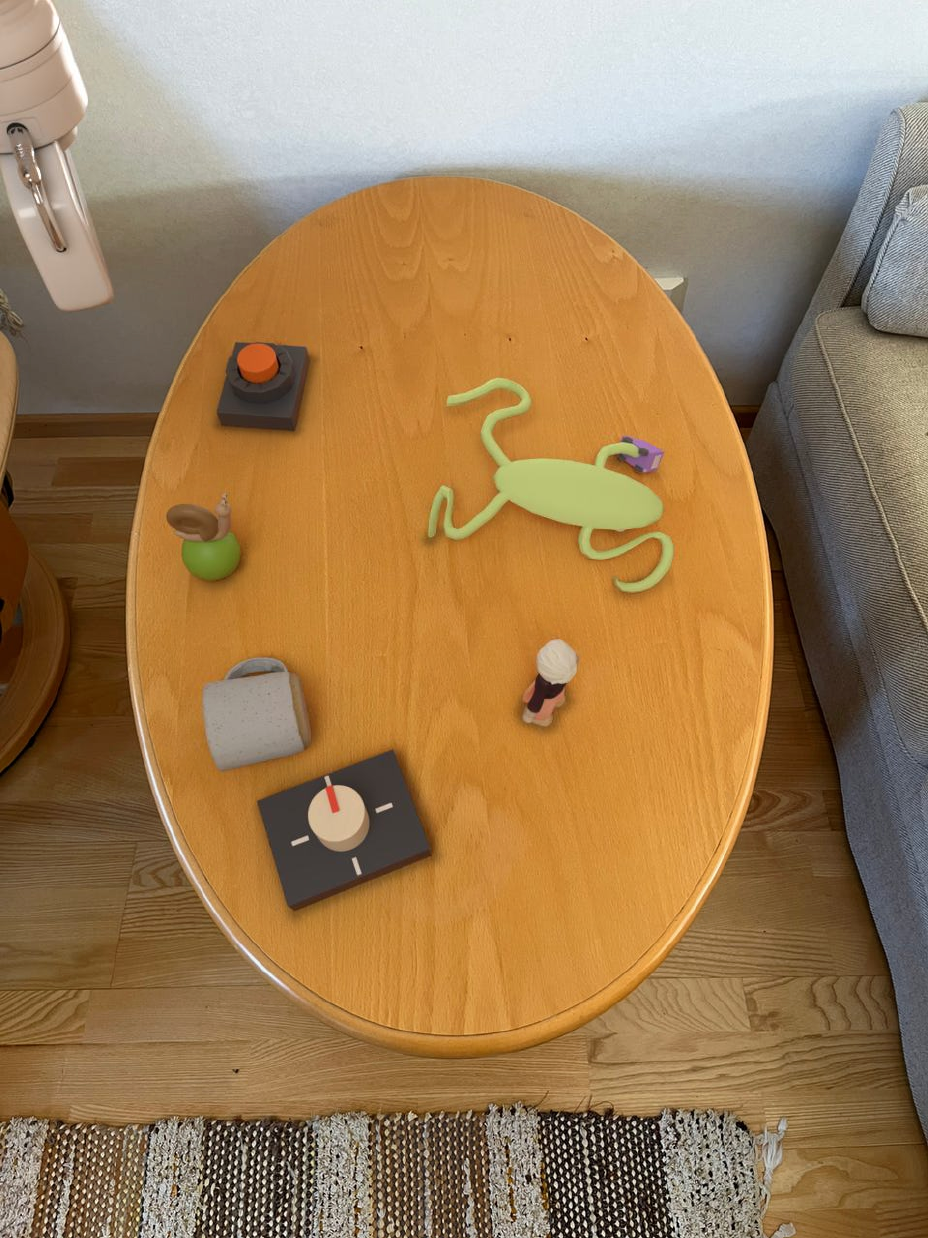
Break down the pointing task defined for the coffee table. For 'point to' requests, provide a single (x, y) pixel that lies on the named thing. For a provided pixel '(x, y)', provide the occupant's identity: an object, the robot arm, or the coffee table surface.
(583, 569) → the coffee table surface
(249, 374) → the button
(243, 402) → the button base
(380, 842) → the dial panel
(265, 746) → the ceramic mug
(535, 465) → the figurine
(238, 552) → the snail figurine
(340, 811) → the dial
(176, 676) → the coffee table surface
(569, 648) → the grandmother figurine
